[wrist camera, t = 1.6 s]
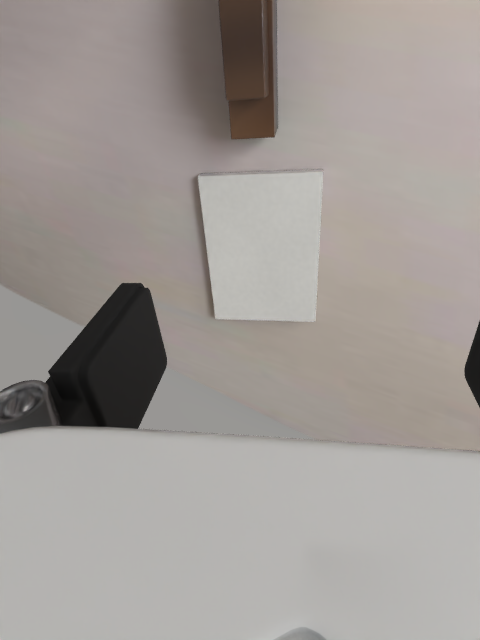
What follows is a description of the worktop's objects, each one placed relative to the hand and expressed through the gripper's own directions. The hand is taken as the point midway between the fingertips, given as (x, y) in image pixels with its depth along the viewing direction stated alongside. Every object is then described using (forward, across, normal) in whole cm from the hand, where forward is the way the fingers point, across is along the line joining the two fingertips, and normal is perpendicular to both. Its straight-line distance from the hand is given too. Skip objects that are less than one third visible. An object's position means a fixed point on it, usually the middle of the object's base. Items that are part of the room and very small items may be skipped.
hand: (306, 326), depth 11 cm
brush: (+23, +4, -8) cm, 25 cm away
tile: (+23, +4, +8) cm, 25 cm away
